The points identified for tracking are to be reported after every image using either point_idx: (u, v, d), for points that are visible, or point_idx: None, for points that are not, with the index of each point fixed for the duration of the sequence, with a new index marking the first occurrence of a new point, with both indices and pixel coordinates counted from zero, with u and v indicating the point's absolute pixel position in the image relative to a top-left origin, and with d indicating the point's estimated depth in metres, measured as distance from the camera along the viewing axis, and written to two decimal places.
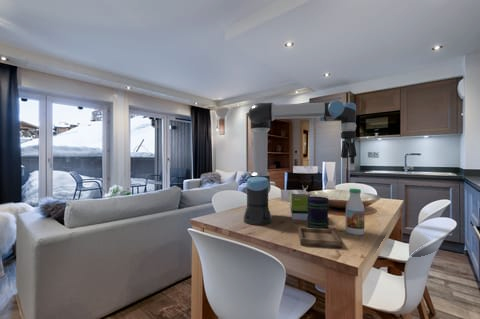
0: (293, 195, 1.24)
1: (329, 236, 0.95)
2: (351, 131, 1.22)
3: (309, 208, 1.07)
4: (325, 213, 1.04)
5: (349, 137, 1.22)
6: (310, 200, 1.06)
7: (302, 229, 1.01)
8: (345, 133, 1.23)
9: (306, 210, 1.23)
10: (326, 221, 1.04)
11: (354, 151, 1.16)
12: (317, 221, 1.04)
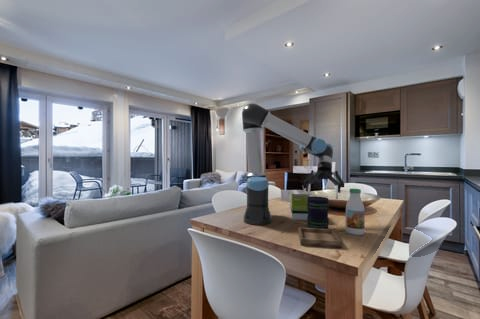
0: (293, 195, 1.24)
1: (329, 236, 0.95)
2: None
3: (309, 208, 1.07)
4: (325, 213, 1.04)
5: (331, 170, 1.23)
6: (310, 200, 1.06)
7: (302, 229, 1.01)
8: (330, 164, 1.24)
9: (306, 210, 1.23)
10: (326, 221, 1.04)
11: None
12: (317, 221, 1.04)
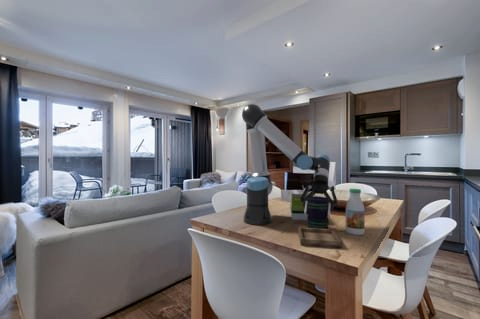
0: (293, 195, 1.24)
1: (329, 236, 0.95)
2: None
3: (309, 208, 1.07)
4: (325, 213, 1.04)
5: (327, 184, 1.15)
6: (310, 200, 1.06)
7: (302, 229, 1.01)
8: (326, 177, 1.16)
9: None
10: (326, 221, 1.04)
11: (336, 200, 1.08)
12: (317, 221, 1.04)
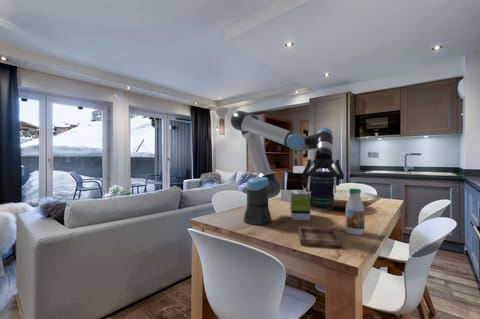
0: (293, 195, 1.24)
1: (329, 236, 0.95)
2: None
3: (312, 183, 0.96)
4: (331, 188, 0.94)
5: (331, 158, 1.05)
6: (314, 174, 0.95)
7: (302, 229, 1.01)
8: (330, 151, 1.06)
9: (306, 210, 1.23)
10: (332, 197, 0.94)
11: None
12: (322, 197, 0.93)
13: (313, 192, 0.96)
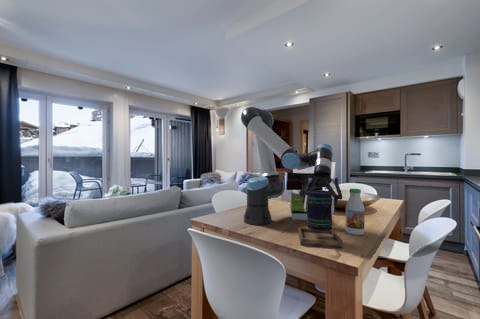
0: (293, 195, 1.24)
1: (329, 236, 0.95)
2: None
3: (309, 203, 0.92)
4: (328, 209, 0.90)
5: (330, 176, 1.01)
6: (310, 194, 0.91)
7: (302, 229, 1.01)
8: (328, 169, 1.01)
9: None
10: (329, 218, 0.90)
11: None
12: (319, 218, 0.89)
13: (310, 213, 0.92)
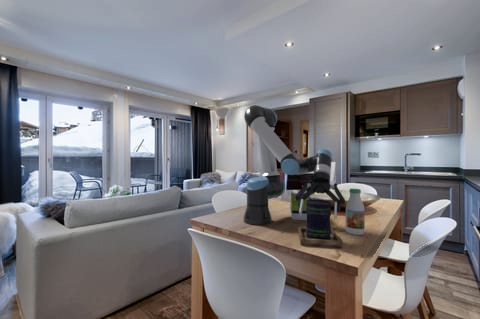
0: (293, 195, 1.24)
1: None
2: None
3: (308, 213, 0.92)
4: (327, 219, 0.90)
5: (329, 182, 1.01)
6: (309, 204, 0.92)
7: (302, 229, 1.01)
8: (327, 175, 1.02)
9: None
10: (328, 228, 0.90)
11: None
12: (317, 228, 0.90)
13: (308, 223, 0.93)
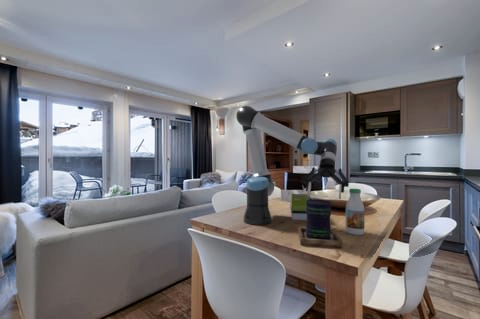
0: (293, 195, 1.24)
1: None
2: None
3: (308, 213, 0.92)
4: (327, 219, 0.90)
5: (334, 167, 1.12)
6: (309, 204, 0.92)
7: (302, 229, 1.01)
8: (333, 161, 1.13)
9: None
10: (328, 228, 0.90)
11: None
12: (317, 228, 0.90)
13: (308, 223, 0.93)
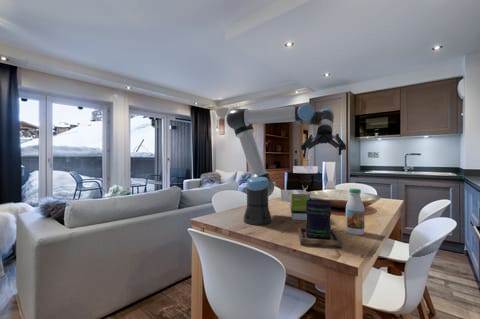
0: (293, 195, 1.24)
1: None
2: None
3: (308, 213, 0.92)
4: (327, 219, 0.90)
5: None
6: (309, 204, 0.92)
7: (302, 229, 1.01)
8: (330, 127, 1.13)
9: None
10: (328, 228, 0.90)
11: None
12: (317, 228, 0.90)
13: (308, 223, 0.93)
